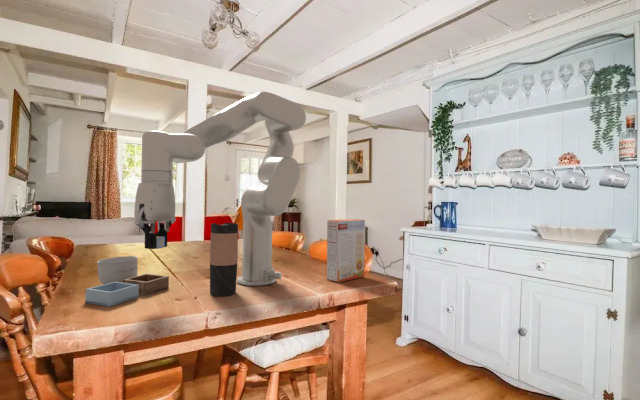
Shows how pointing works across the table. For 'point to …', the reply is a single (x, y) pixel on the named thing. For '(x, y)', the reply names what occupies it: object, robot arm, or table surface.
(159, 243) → the alphabet block
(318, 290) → the table surface
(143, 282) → the walnut box
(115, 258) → the grey piece
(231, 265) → the travel mug
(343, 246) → the cracker box
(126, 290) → the slate box
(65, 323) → the table surface
